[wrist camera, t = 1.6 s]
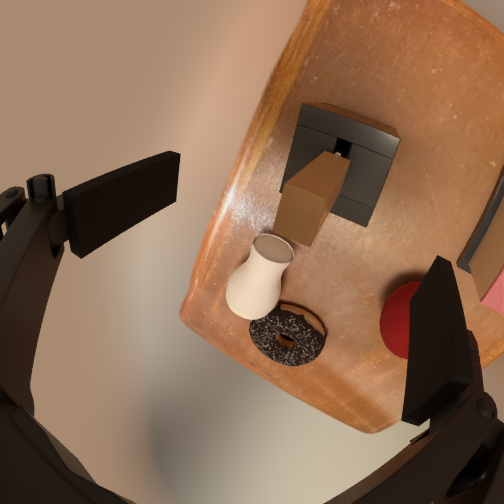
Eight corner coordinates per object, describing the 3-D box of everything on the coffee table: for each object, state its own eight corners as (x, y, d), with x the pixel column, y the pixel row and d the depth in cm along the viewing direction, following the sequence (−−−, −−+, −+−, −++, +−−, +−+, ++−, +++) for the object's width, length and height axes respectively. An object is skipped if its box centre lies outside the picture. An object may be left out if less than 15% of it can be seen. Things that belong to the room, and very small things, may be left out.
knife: (343, 134, 27) (285, 178, 13) (362, 140, 27) (328, 195, 12) (335, 160, 29) (270, 235, 14) (353, 166, 29) (308, 251, 14)
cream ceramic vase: (260, 221, 38) (237, 274, 44) (234, 246, 32) (213, 303, 38) (308, 248, 37) (278, 299, 43) (290, 279, 31) (259, 331, 37)
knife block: (324, 102, 28) (301, 103, 21) (396, 129, 26) (400, 138, 19) (305, 169, 32) (278, 192, 25) (372, 195, 30) (366, 227, 23)
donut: (316, 361, 46) (310, 379, 43) (252, 337, 50) (242, 353, 46) (335, 315, 40) (329, 334, 37) (259, 288, 44) (247, 304, 40)
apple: (457, 274, 29) (470, 329, 21) (438, 329, 34) (440, 386, 26) (388, 264, 33) (383, 317, 25) (377, 320, 37) (367, 376, 30)
